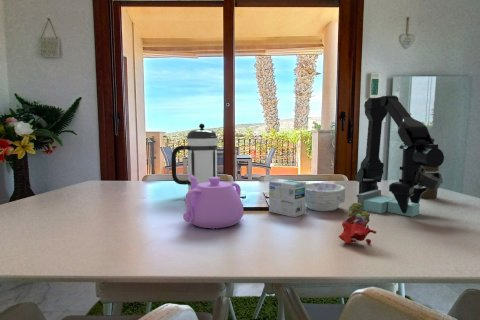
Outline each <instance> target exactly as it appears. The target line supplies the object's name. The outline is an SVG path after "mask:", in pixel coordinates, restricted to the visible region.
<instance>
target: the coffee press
mask: <svg viewBox="0 0 480 320" xmlns="http://www.w3.org/2000/svg"><path fill="white" fill-rule="evenodd" d="M198 127H199V129H195V130H191V131H188V133H187V136H185V137H186V140H187V145H179V146H176V147H175V148H174V149H173V150H172V152H171V177H172V180H173V181H174V182H175V184H178V185H183V186H186V185H187V186H188V189H187V190H188V191H187V193H188V192H189V191H190V190H191V180H190V177H189V174H192V175H194V176H195V177H196V179H197V182H198V184H200V183H205V182H210V181H209V178H210V177H218V166H217V165H218V162H217V161H218V160H217V159H218V156H217V155H218V152H217V150H218V145H217V144H221V140H220V138H218V135H217V133H216V132H215V131H214V130H210V129H204V128H205V124H204V123H200V124H199V126H198ZM185 150H187V180H186V179H185V180H183V179H182V180H181V179H179V178H178V177H177V154H178V152H180V151H185Z"/></svg>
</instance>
